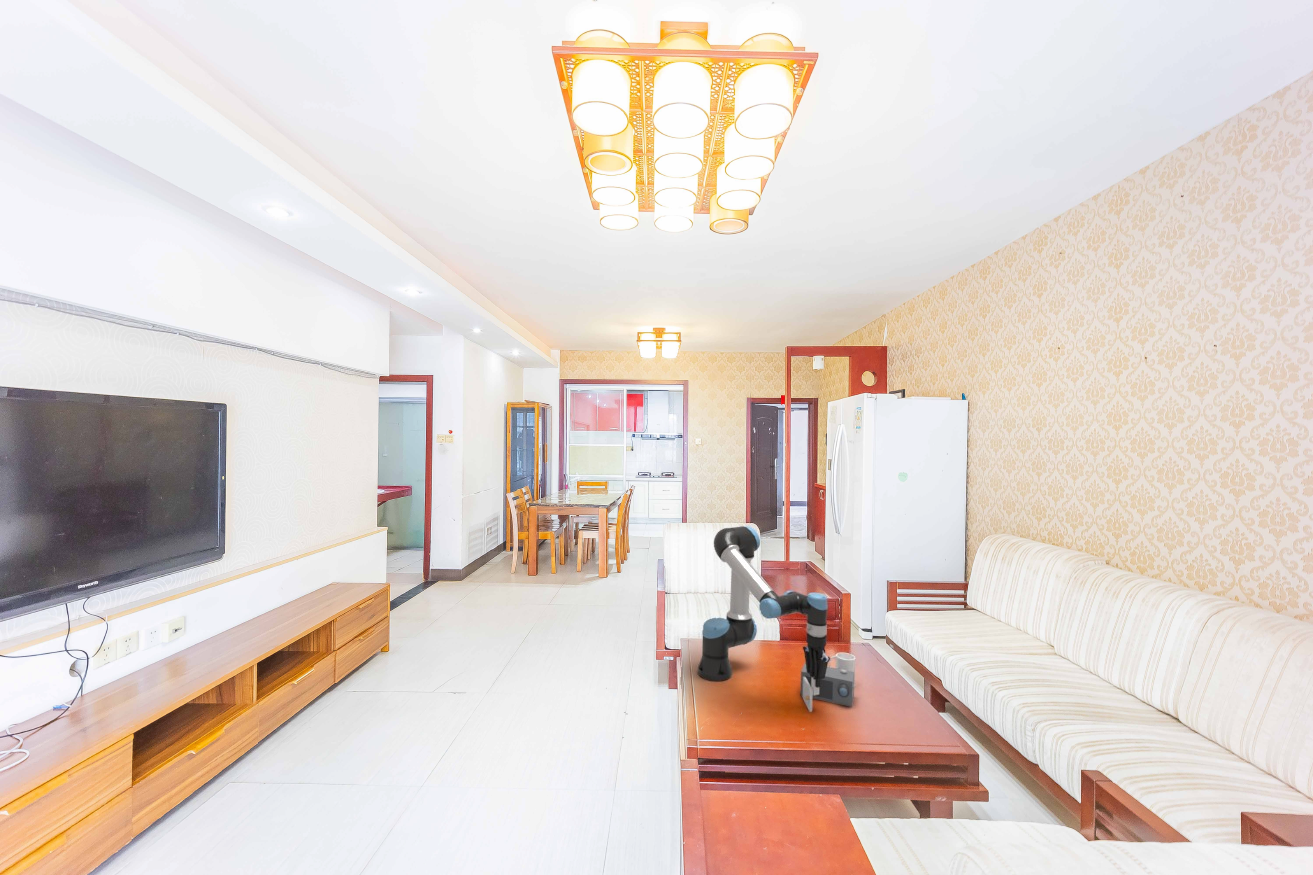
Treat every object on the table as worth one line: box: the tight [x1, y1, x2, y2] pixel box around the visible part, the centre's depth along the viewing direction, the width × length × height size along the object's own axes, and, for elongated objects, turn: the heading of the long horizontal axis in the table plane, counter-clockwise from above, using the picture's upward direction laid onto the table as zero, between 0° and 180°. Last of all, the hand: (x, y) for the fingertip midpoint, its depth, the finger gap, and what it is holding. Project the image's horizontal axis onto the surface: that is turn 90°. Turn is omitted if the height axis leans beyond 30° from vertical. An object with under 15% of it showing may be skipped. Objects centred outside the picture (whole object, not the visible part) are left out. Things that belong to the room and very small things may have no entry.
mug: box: [828, 652, 856, 688], centre depth 234 cm, size 12×8×12 cm
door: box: [801, 676, 813, 713], centre depth 214 cm, size 12×2×8 cm, turn 178°
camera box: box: [799, 662, 856, 708], centre depth 221 cm, size 20×12×11 cm, turn 65°
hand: (815, 693), depth 210 cm, fingers closed
